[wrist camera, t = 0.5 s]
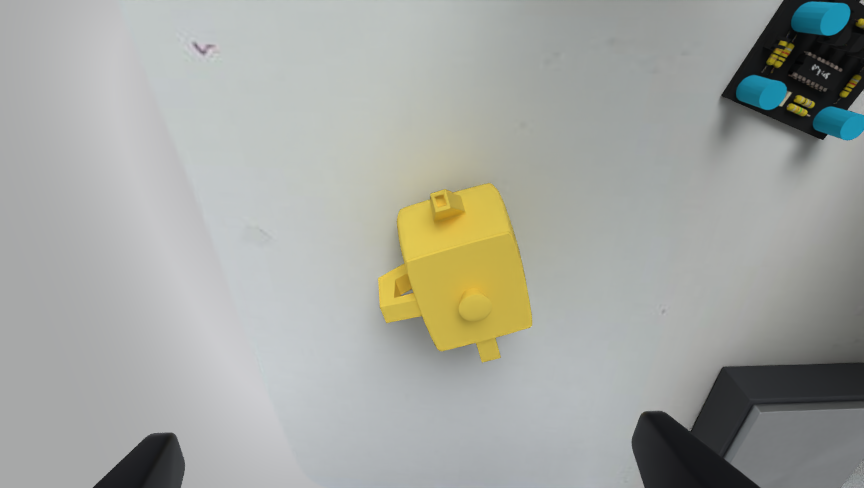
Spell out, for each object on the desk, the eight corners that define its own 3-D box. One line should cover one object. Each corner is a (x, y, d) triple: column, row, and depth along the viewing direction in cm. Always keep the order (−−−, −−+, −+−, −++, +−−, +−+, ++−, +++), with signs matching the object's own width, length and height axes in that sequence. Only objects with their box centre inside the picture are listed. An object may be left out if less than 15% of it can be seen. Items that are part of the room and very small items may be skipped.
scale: (784, 479, 34) (817, 522, 32) (663, 485, 33) (686, 530, 31) (867, 362, 28) (914, 403, 26) (722, 366, 28) (757, 408, 25)
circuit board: (959, 22, 17) (851, 152, 19) (913, 16, 18) (817, 138, 21) (851, -40, 16) (748, 107, 18) (811, -42, 17) (721, 95, 19)
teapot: (347, 174, 20) (337, 239, 15) (486, 132, 19) (516, 187, 15) (406, 319, 24) (411, 403, 19) (521, 287, 23) (553, 366, 19)
